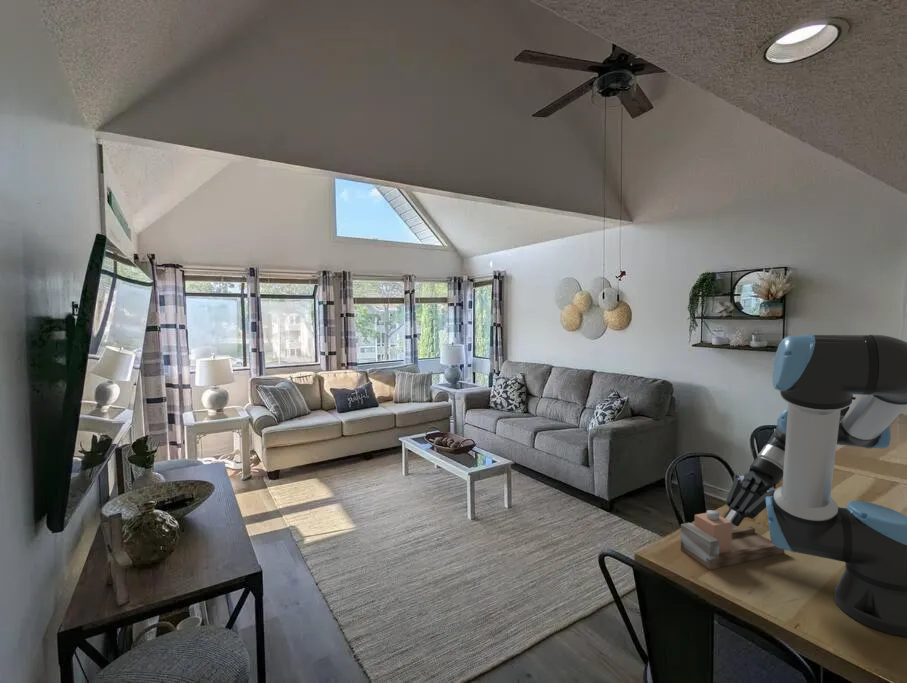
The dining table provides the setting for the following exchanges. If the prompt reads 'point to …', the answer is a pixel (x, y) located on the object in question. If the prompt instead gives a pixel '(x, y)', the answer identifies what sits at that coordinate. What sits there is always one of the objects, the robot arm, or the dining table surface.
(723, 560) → the track
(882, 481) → the dining table surface
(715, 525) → the block
